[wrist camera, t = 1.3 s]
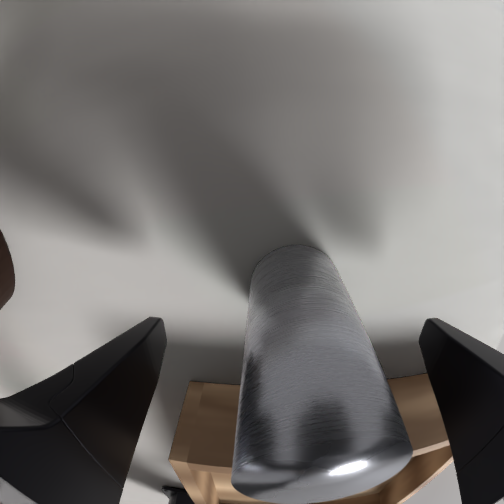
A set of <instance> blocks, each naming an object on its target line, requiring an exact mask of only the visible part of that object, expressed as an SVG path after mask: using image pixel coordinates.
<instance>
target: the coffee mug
mask: <svg viewBox="0 0 504 504" xmlns="http://www.w3.org/2000/svg"><path fill="white" fill-rule="evenodd" d="M14 288H15V274H14V267H13V263H12V259H11V255H10V252H9V249H8V246H7V243H6V241H5V239H4V236H3V234H2V232H1V230H0V310H1V308H2V307H3V306H4V305H5V304H6V303H7V301H8V300H9V299H10V298H11V297H12V295H13V292H14Z"/></svg>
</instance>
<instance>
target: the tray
mask: <svg viewBox="0 0 504 504" xmlns="http://www.w3.org/2000/svg"><path fill="white" fill-rule="evenodd" d="M387 381H388V383H389V386H390V388H391V391H392V393H393V396H394V399H395V401H396V404H397V406H398V409H399V412H400V414H401V417H402V420H403V422H404V425H405V428H406V431H407V434H408V436H409V439H410V442H411V445H412V448H413V455H412V457H411V459H410V461H409V462H408V463H407V465H406V466H405V467H404V468H403V469H402V470H401V471H399V472H398V473H397V474H395V475H394V476H393V477H391V478H389V479H388V480H386V481H384V482H383V483H381V484H379V485H377V486H375V487H373V488H370V489H368V490H365V491H363V492H360V493H357V494H354V495H351V496H348V497H344V498H340V499H336V500H331V501H325V502H318V503H308V504H402V503H403V502H404V501H406V500H407V499H409V498H410V497H411V496H413V495H414V494H415V493H417V492H418V491H419V490H420V489H421V488H423V487H424V486H425V485H427V484H428V483H429V482H430V481H431V480H432V479H434V478H435V477H436V476H437V475H438V474H439V473H441V472H442V471H443V470H444V469H445V468H446V467H447V466H448V465H449V464H450V463H452V462H453V461H454V460H453V456H452V452H451V448H450V444H449V440H448V437H447V433H446V430H445V426H444V423H443V420H442V416H441V413H440V410H439V407H438V404H437V401H436V398H435V395H434V392H433V389H432V386H431V383H430V380H429V377H428V374H427V373H426V374H420V375H414V376H408V377H402V378H395V379H387ZM239 395H240V385H229V384H215V383H203V382H193V381H190V382H189V385H188V389H187V392H186V396H185V399H184V403H183V407H182V410H181V414H180V418H179V421H178V425H177V429H176V432H175V436H174V440H173V444H172V448H171V451H170V455H169V459H168V460H169V461H170V463H171V465H172V467H173V469H174V471H175V472H176V474H177V476H178V477H179V479H180V481H181V483H182V484H183V486H184V488H185V489H186V491H187V492H188V494H189V496H190V497H191V499H192V500H193V502H194V503H195V504H281V503H271V502H265V501H261V500H257V499H253V498H250V497H248V496H245V495H243V494H241V493H240V492H238V491H237V490H236V489H235V488H234V487H233V486H232V484H231V475H232V465H233V455H234V445H235V435H236V425H237V415H238V405H239Z"/></svg>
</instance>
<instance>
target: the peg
mask: <svg viewBox="0 0 504 504" xmlns="http://www.w3.org/2000/svg"><path fill="white" fill-rule="evenodd" d="M412 455H413V448H412V445H411V442H410V439H409V436H408V434H407V431H406V428H405V425H404V422H403V420H402V417H401V414H400V412H399V409H398V406H397V404H396V401H395V399H394V396H393V393H392V391H391V388H390V386H389V383H388V381H387V379H386V376H385V374H384V371H383V369H382V366H381V364H380V362H379V359H378V357H377V355H376V352H375V350H374V348H373V345H372V343H371V341H370V339H369V336H368V334H367V332H366V330H365V328H364V325H363V323H362V321H361V319H360V317H359V314H358V312H357V310H356V308H355V306H354V304H353V302H352V300H351V298H350V296H349V293H348V291H347V289H346V287H345V285H344V283H343V281H342V279H341V277H340V275H339V273H338V271H337V269H336V267H335V265H334V264H333V262H332V261H331V260H330V258H329V257H328V256H327V255H325V254H324V253H323V252H321V251H319V250H317V249H315V248H312V247H309V246H304V245H291V246H285V247H282V248H279V249H277V250H274V251H273V252H271V253H269V254H268V255H267V256H265V257H264V258H263V259H262V260H261V261H260V262H259V264H258V265H257V266H256V268H255V270H254V272H253V275H252V278H251V284H250V294H249V305H248V315H247V325H246V335H245V345H244V355H243V365H242V375H241V385H240V395H239V405H238V415H237V425H236V435H235V445H234V455H233V465H232V475H231V484H232V486H233V487H234V488H235V489H236V490H237V491H238V492H240V493H241V494H243V495H245V496H248V497H250V498H253V499H257V500H261V501H265V502H271V503H281V504H308V503H318V502H325V501H331V500H336V499H340V498H344V497H348V496H351V495H354V494H357V493H360V492H363V491H365V490H368V489H370V488H373V487H375V486H377V485H379V484H381V483H383V482H384V481H386V480H388V479H389V478H391V477H393V476H394V475H395V474H397V473H398V472H399V471H401V470H402V469H403V468H404V467H405V466H406V465H407V463H408V462H409V461H410V459H411V457H412Z"/></svg>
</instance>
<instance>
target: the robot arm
mask: <svg viewBox="0 0 504 504" xmlns="http://www.w3.org/2000/svg"><path fill="white" fill-rule="evenodd" d="M166 343H167V338H166V333H165V328H164V322H163V320H162V319H161V318H158V317H149V318H147V319H146V320H144V321H142V322H141V323H139V324H137V325H136V326H134V327H132V328H131V329H129V330H128V331H126V332H124V333H123V334H121V335H119V336H118V337H116V338H114V339H113V340H111V341H109V342H108V343H106V344H105V345H103V346H101V347H100V348H98V349H96V350H95V351H93V352H91V353H90V354H88V355H86V356H85V357H83V358H82V359H80V360H78V361H77V362H75V363H74V365H73V364H72V365H70V366H68V367H67V368H65V369H63V370H62V371H60V372H58V373H56V374H55V375H53V376H51V377H49V378H47V379H45V380H43V381H41V382H39V383H37V384H35V385H33V386H31V387H29V388H27V389H25V390H23V391H21V392H18V393H16V394H14V395H12V396H10V397H6V398H1V399H0V504H119V502H120V498H121V495H122V491H123V489H122V488H123V487H124V484H125V481H126V477H127V474H128V471H129V467H130V464H131V461H132V458H133V454H134V451H135V448H136V445H137V442H138V439H139V436H140V433H141V430H142V427H143V424H144V421H145V418H146V415H147V412H148V409H149V406H150V403H151V400H152V397H153V394H154V391H155V389H156V386H157V382H158V379H159V374H160V370H161V365H162V361H163V357H164V352H165V348H166ZM419 345H420V348H421V352H422V355H423V359H424V363H425V366H426V370H427V374H428V377H429V380H430V383H431V386H432V389H433V392H434V395H435V398H436V401H437V404H438V407H439V410H440V413H441V416H442V420H443V423H444V426H445V430H446V433H447V437H448V440H449V444H450V448H451V452H452V456H453V460H454V464H455V469H456V472H457V479H458V484H459V489H460V495H461V500H462V504H495V503H496V502H498V501H500V500H501V499H503V500H504V354H502V353H500V352H499V351H497V350H495V349H493V348H491V347H490V346H488V345H486V344H484V343H482V342H481V341H479V340H477V339H475V338H473V337H471V336H470V335H468V334H466V333H464V332H462V331H460V330H459V329H457V328H455V327H453V326H451V325H449V324H447V323H446V322H444V321H442V320H440V319H438V318H429V319H427V320H426V321H425V324H424V326H423V329H422V332H421V334H420V337H419ZM162 491H163V492H164V493H165V494H166V496H167V497H168V498H169V503H168V504H195V503H194V502H193V500H192V499H191V497H190V496H189V494H188V492H187V491H186V490H181V489H175V488H170V487H165V486H163V487H162Z"/></svg>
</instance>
